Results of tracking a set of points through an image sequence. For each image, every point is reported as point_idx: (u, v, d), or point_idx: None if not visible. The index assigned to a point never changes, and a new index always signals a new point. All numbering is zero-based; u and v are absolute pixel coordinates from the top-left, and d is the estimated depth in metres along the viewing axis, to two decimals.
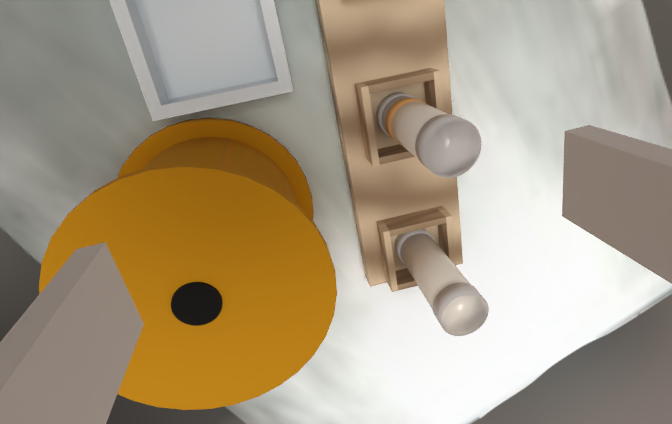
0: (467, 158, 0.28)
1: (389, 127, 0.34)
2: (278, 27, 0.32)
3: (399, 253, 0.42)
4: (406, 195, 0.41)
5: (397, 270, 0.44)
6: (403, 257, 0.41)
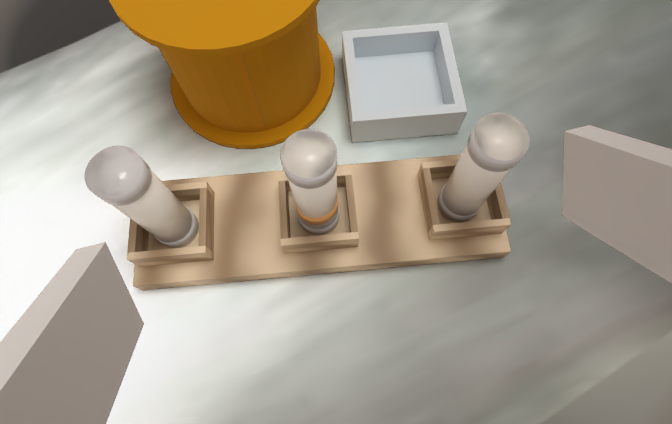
0: (296, 167, 0.29)
1: None
2: (401, 116, 0.42)
3: None
4: (235, 222, 0.40)
5: None
6: None
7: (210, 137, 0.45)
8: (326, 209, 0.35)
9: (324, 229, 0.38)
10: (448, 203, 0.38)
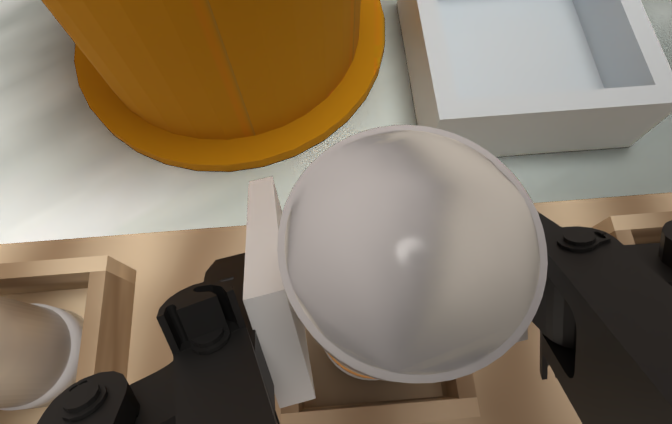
0: (357, 312, 0.06)
1: None
2: (544, 110, 0.19)
3: (33, 305, 0.17)
4: None
5: None
6: None
7: (142, 147, 0.23)
8: None
9: None
10: None
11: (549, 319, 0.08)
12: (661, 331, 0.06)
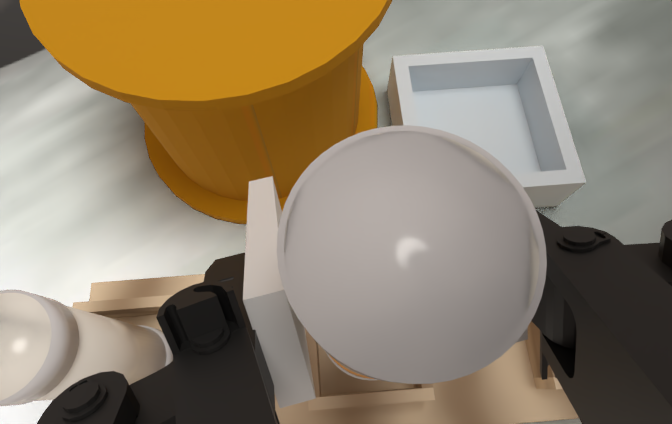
0: (356, 312, 0.06)
1: None
2: None
3: (139, 326, 0.25)
4: None
5: None
6: None
7: (199, 207, 0.31)
8: None
9: None
10: None
11: (549, 319, 0.08)
12: (661, 331, 0.06)
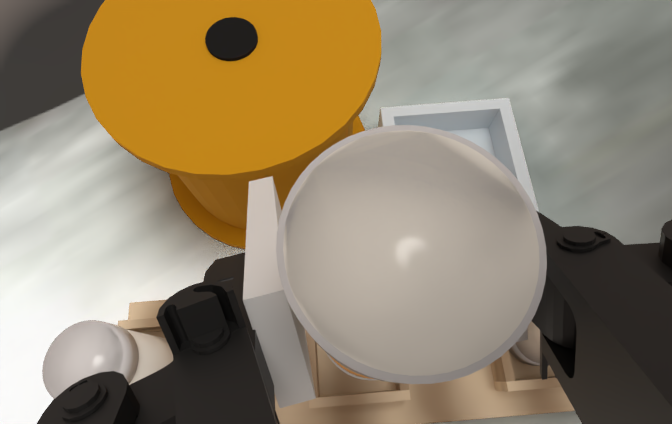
0: (355, 312, 0.06)
1: None
2: None
3: None
4: None
5: None
6: None
7: (217, 237, 0.36)
8: None
9: None
10: (524, 349, 0.29)
11: (549, 319, 0.08)
12: (661, 331, 0.06)
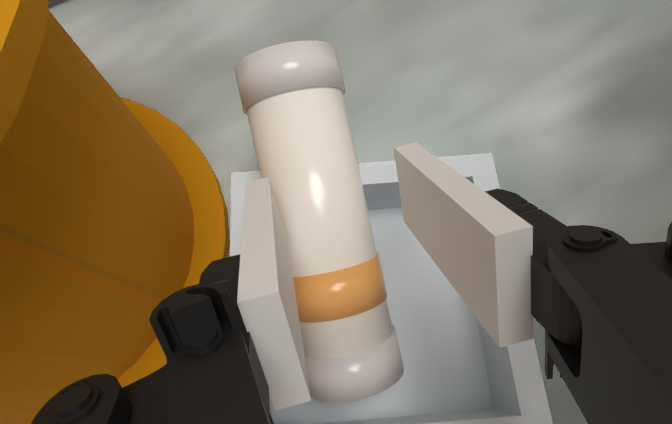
0: None
1: None
2: None
3: None
4: None
5: None
6: None
7: None
8: (330, 237, 0.14)
9: (344, 361, 0.15)
10: None
11: (555, 318, 0.08)
12: (668, 330, 0.05)
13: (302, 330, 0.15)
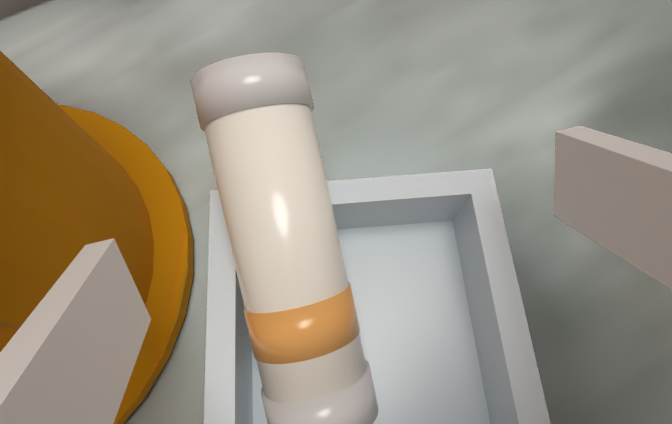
0: None
1: None
2: None
3: None
4: None
5: None
6: None
7: None
8: (272, 275, 0.13)
9: (288, 409, 0.13)
10: None
11: None
12: None
13: (258, 366, 0.14)
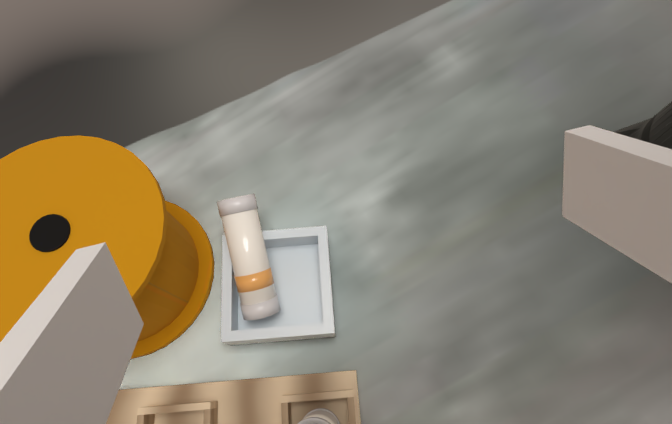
0: None
1: None
2: (269, 337, 0.42)
3: None
4: None
5: None
6: None
7: None
8: (242, 264, 0.42)
9: (248, 306, 0.42)
10: None
11: None
12: None
13: (239, 294, 0.43)
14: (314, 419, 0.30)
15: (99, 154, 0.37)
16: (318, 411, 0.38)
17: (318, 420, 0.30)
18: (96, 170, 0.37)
